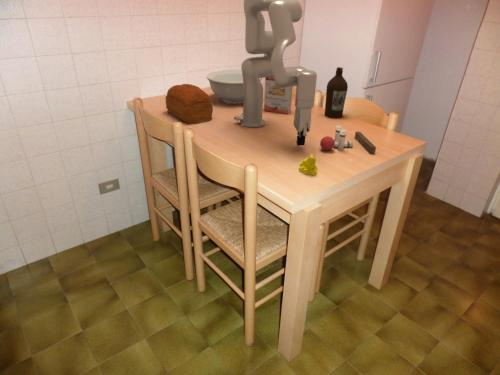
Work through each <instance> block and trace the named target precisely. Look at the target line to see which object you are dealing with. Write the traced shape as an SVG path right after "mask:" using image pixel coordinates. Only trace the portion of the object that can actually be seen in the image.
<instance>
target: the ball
mask: <svg viewBox="0 0 500 375" xmlns="http://www.w3.org/2000/svg"><path fill="white" fill-rule="evenodd" d="M334 140H335V138H333V137H332V136H329V135H326V136H324V137H323V138H321V139H320V142H319V143H320V144H319V145H320V148H321V149H322V150H324V151H326V152H327V151H331V150H333V149H334V148H333V147H334V145H335V142H334Z"/></svg>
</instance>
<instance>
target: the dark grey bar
mask: <svg viewBox="0 0 500 375" xmlns="http://www.w3.org/2000/svg"><path fill="white" fill-rule="evenodd" d="M354 139H355V140H356V141H357V142H358V144H360V145H361V146H362V147H363V148H364V150H366V151H367V153H368V154H370V155H372V154H373V155H375V154H376V149H377V147H376V145H375V144H374V143H372V142H371V141H370V140H369V139H368V138H367V137H366V136H365V135H364V134H363V133H362V132H361V131H355V133H354Z"/></svg>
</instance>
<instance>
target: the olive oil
mask: <svg viewBox="0 0 500 375" xmlns="http://www.w3.org/2000/svg"><path fill="white" fill-rule="evenodd" d="M343 72H344V67H341V66H340V67H339V66H338V67H336V70H335V75H334V76H333V77H332V78H331V79H330V80H329V81H328V83H327V85H326V90H325V93H326V94H325V104H324V106H325V107H324V117H325V118H329V119H341V118H342V117H343V114H344V109H345V103H346V102H345V101H346V98H347V93H348V88H349V86H348V82H347V80H346V79H345V78H344V76H343Z"/></svg>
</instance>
